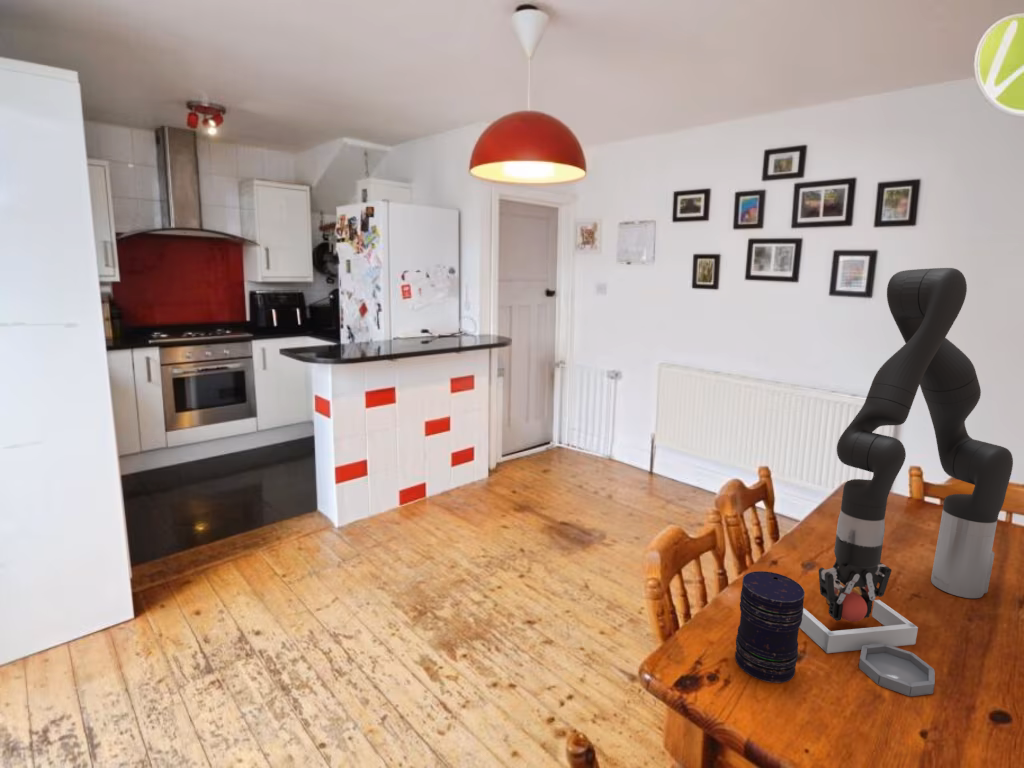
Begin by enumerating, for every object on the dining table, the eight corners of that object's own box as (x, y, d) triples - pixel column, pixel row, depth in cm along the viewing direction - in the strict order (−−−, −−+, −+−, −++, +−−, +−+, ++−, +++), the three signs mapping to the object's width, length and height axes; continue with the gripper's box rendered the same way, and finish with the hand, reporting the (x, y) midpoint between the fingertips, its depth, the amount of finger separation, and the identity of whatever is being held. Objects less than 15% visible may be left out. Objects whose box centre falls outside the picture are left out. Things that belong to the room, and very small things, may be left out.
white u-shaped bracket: (877, 615, 115) (879, 599, 114) (915, 644, 106) (918, 627, 105) (794, 623, 112) (796, 606, 111) (827, 653, 103) (829, 635, 102)
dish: (897, 650, 104) (898, 641, 104) (949, 691, 94) (950, 682, 93) (845, 656, 102) (847, 647, 102) (892, 698, 92) (894, 688, 92)
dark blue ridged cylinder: (791, 691, 93) (802, 608, 90) (729, 669, 98) (736, 590, 95) (798, 657, 102) (808, 581, 99) (740, 638, 107) (747, 565, 104)
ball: (851, 609, 113) (854, 584, 112) (872, 626, 108) (876, 599, 107) (826, 612, 113) (829, 586, 111) (846, 628, 107) (850, 602, 106)
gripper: (877, 524, 112) (867, 602, 115) (811, 529, 109) (802, 609, 113) (909, 542, 104) (897, 624, 108) (839, 548, 102) (829, 632, 105)
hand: (849, 616), depth 110 cm, fingers closed on ball, 5 cm apart
